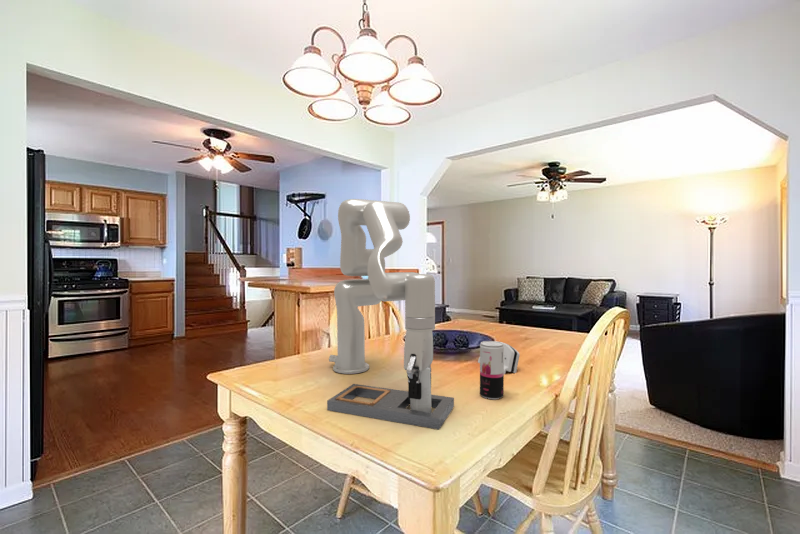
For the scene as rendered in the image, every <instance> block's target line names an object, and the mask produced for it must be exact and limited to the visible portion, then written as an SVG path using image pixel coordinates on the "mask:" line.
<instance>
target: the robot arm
mask: <svg viewBox="0 0 800 534" xmlns="http://www.w3.org/2000/svg"><path fill="white" fill-rule="evenodd" d="M337 219H338V225H339V230H340V234H341V237H340V238H341V239H340V256H339V258H340V259H339V268H340V272H341V273H342V274H343V275H344V276H347V277H366V276H367V278H363V279H360V278H357V279H355V278H354V279H344V280H340V281H339V282H337V283H336V285H335V286H334V289H333V291H334V292H333V295H334V300H335V306H336V316H337V317H336V318H337V319H336V324H337V325H336V327H337V328H336V329H337V332H336V333H337V335H336V336H337V338H336V339H337V355H335V354H334V355H333V354H330V355H329V358H328V362H333V363H334V365H333V366H332V370H333V371H334V372H335V373H338V374H343V375H344V374H345V375H351V374H352V375H353V374H359V373H360V374H361V373H363V372H364V373H365V372H366V371H368V370H369V369H370V364H369V363H368V362H366V361H365V360H366V357H365V354H366V352H365V351H366V350H365V349H366V348H365V347H366V345H365V341H366V340H365V337H366V336H365V331H366V329H365V318H364V315H363V314H362V312H361V311H360V310H359V307H367V306H375V305H376V306H377V305H378V304H380V303H381V302H398V301H399V302H400V301H404V306H405V307H404V315H405V316H404V318H405V319H404V321H405V322H404V329H405V330H406V331H405V337H404V338H405V339H404V347H403V348H404V351H403V370H405V371H406V375H407V376H406V377H407V383H408V384H407V385H408V386H407V388H408V389H407V390H408V397H409V398H412V399H419V400H420V399H421V383H420V378H421V372H422V371H423V370H425V369H426V368H427V367H429V368H430V369H431V370H430V375H431V376H432V363H433V360H434V339H433V331H435V329H436V280H435V277H434V276H433V275H432V274H428V273H418V272H413V271H411V272H409V271H408V272H407V271H404V272H403V271H401V272H400V271H397V272H386V261H385V258H387V257H389V256H391V255H393V254H395V253H396V252H398V251H399V250H400V249H401V247H402V245H403V243H404V242H403V238H402V235H401V233H400V231H399V230H404V229H406V228H407V227H408V226H409V224H410V221H411V214H410V211H409V209H408V207H407V206H406V205H405V204H404V203H403V202H400V201H399V202H398V201H388V200H387V201H384V200H375V199H373V200H372V199H365V198H364V199H363V198H350V199H345V200H343V201H341V202H340V205H339V207H338V211H337ZM362 226H365V227H366V228H367V232H368V234H369V237H370V241H371V244H372V246H373V248H367V236H366V233H365V231H364V229H363V228H362ZM414 367H415V368H419V369H418V370H417V369H414ZM414 372H416V373H418V374H417V376H416V374H414Z"/></svg>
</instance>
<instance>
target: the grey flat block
mask: <svg viewBox="0 0 800 534" xmlns="http://www.w3.org/2000/svg"><path fill="white" fill-rule="evenodd" d="M358 397H360V398H364V399H365V398H367V399H373V401H372V402H369V401H362V400H357V399H356V398H358ZM409 404H410V398H409V397H408V391H407V390H400V389H396V388H395V389H394V388H386V387H379V386H371V385H364V384H358V383H352V384H350V385H349V386H348V387H346V388H344V389H343V390H342V391H340V392H339V393H337V394H335V395H334V396H332V397H331V398H329V399H328V400H327V401H326V410H327V411H330V412H335V413H342V414H345V415H346V414H348V415H352V416H353V415H354V416H358V417H364V418H370V419H374V420H375V419H377V420H383V421H387V422H392V423H393V422H394V423H399V424H406V425H412V426H417V427H422V428H423V427H424V428H427V429H434V430H440V429H441V427H442V426H443V424H445V422H446V419H448V417H449V415H450V414H451V413H452V410H453V409H454V408H453V407H455V398H454V397H452V396H445V395H437V394H431V407H432V409H434V410H433V411H432V413H429V412H423V411H416V410H411V408H410V409H409V408H408V407H410V405H409Z"/></svg>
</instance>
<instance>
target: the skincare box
mask: <svg viewBox="0 0 800 534" xmlns="http://www.w3.org/2000/svg"><path fill="white" fill-rule="evenodd" d="M414 369H417V370H418V369H419V368H415V367H414ZM430 370H431V371H432V368H431V369H430V368H429V367H427V368H426V369H425V370H423V371H422V372H421V378H420V383H421V399H420V400H419V399H412V398H410V405H409V407H410V410H416V411H423V412H429V413H432V412H433V411H432V409H433V408H431V395H432V374H431V375H430ZM414 374H416V376H417V374H418V373H416V372H414Z"/></svg>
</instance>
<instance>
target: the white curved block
mask: <svg viewBox="0 0 800 534" xmlns="http://www.w3.org/2000/svg"><path fill="white" fill-rule="evenodd" d="M496 342H498V341H496ZM500 342H501V343H503V346H504V375H506V372H511V373H512V374H513V373H514V374H516V373H517V371H518V366H519V362H520V361H519V360H520V352H519V351H518V350H517V349H516V348H515V347H513V346H512V345H510V344H508V343H506V342H502V341H500ZM477 363H478V364H480V356H479V357H478V360H477Z"/></svg>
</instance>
